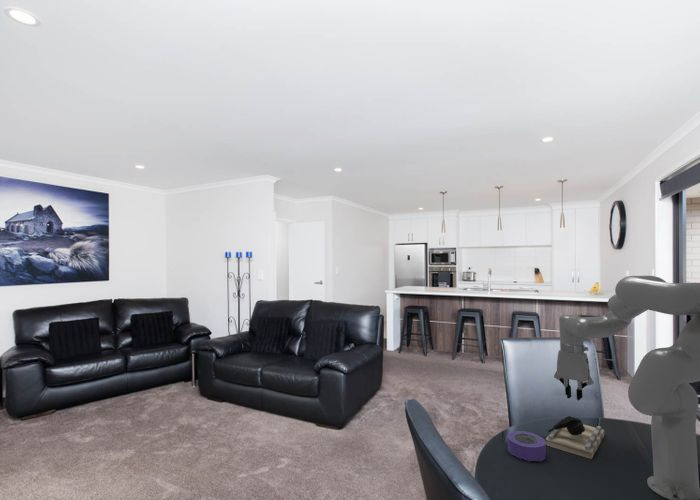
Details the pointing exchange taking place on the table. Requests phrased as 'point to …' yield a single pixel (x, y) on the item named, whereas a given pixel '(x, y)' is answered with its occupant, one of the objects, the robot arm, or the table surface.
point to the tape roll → (526, 446)
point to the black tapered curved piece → (570, 426)
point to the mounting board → (576, 441)
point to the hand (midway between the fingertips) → (574, 398)
